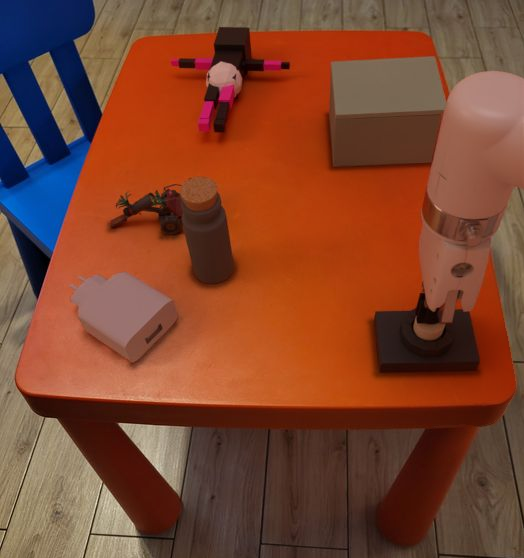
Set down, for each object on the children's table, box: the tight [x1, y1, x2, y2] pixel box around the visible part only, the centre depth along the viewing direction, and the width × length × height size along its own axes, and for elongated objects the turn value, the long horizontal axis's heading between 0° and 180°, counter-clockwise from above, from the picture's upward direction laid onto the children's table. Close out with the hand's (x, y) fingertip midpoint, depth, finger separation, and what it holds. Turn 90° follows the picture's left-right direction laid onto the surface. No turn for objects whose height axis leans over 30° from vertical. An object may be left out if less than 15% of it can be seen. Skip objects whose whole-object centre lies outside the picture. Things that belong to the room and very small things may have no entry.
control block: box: [373, 307, 481, 373], centre depth 77 cm, size 12×8×4 cm, turn 89°
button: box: [413, 316, 445, 341], centre depth 75 cm, size 4×4×2 cm
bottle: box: [179, 176, 235, 285], centre depth 81 cm, size 6×6×15 cm
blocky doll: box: [170, 26, 291, 134], centre depth 107 cm, size 22×25×6 cm
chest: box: [328, 72, 442, 168], centre depth 98 cm, size 16×14×9 cm
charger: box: [68, 271, 179, 363], centre depth 82 cm, size 5×9×15 cm
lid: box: [330, 55, 447, 119], centre depth 93 cm, size 16×14×1 cm
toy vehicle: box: [109, 177, 192, 236], centre depth 91 cm, size 7×15×8 cm, turn 94°
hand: (428, 317), depth 74 cm, fingers closed
